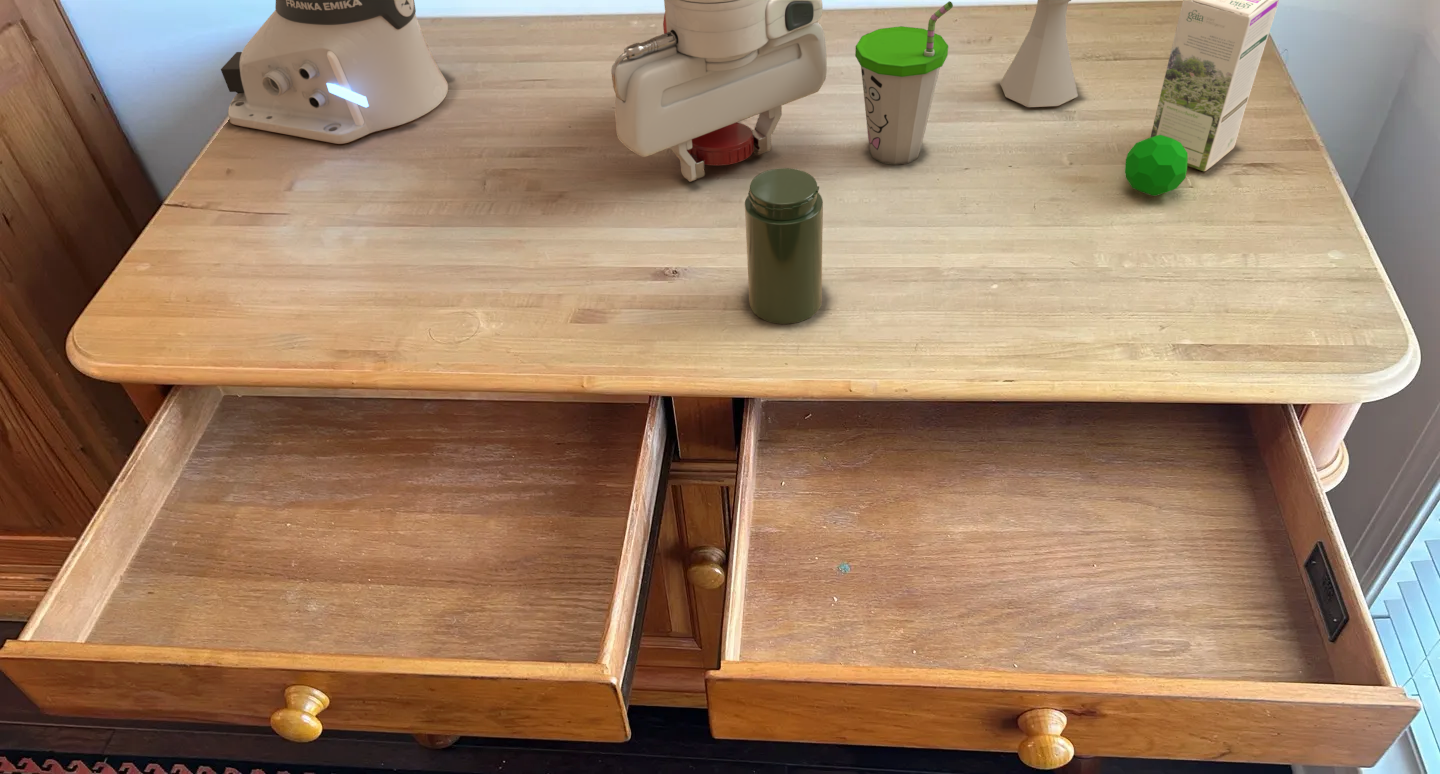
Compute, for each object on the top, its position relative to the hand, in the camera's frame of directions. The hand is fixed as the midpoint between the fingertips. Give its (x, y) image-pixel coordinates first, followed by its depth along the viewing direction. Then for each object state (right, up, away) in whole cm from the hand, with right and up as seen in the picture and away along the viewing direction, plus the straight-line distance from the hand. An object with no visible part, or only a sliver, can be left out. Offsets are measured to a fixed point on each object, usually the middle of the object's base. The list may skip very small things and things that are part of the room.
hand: (727, 163), depth 97 cm
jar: (+4, -14, -15) cm, 21 cm away
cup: (+15, +1, +1) cm, 15 cm away
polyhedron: (+36, -4, -6) cm, 37 cm away
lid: (-1, +2, -1) cm, 2 cm away
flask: (+31, +8, +7) cm, 33 cm away
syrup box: (+41, 0, -2) cm, 42 cm away
